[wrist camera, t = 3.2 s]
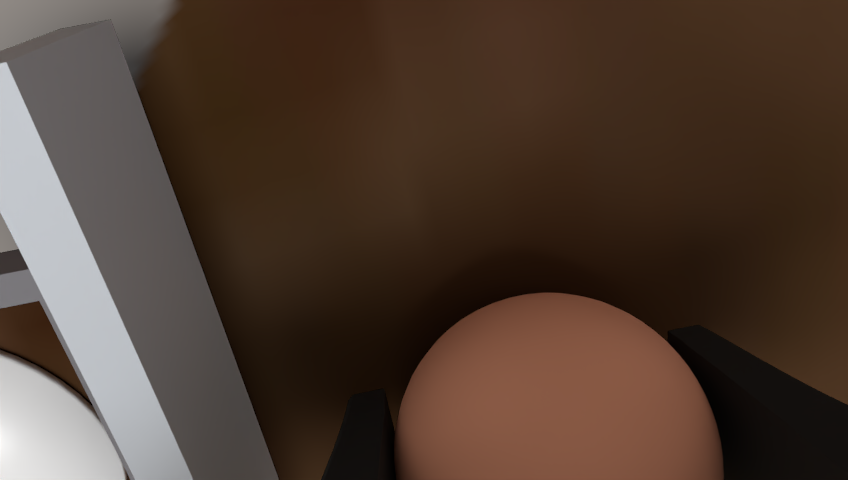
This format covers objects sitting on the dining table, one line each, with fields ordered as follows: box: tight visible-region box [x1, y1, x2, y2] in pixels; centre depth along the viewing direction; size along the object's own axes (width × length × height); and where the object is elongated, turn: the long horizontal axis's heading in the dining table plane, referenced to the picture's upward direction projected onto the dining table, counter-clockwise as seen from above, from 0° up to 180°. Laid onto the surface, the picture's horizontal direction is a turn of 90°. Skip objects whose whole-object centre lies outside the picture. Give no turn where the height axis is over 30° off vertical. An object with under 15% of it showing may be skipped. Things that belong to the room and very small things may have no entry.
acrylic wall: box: [0, 19, 279, 480], centre depth 12 cm, size 16×1×4 cm, turn 9°
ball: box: [394, 293, 724, 480], centre depth 11 cm, size 6×6×6 cm
